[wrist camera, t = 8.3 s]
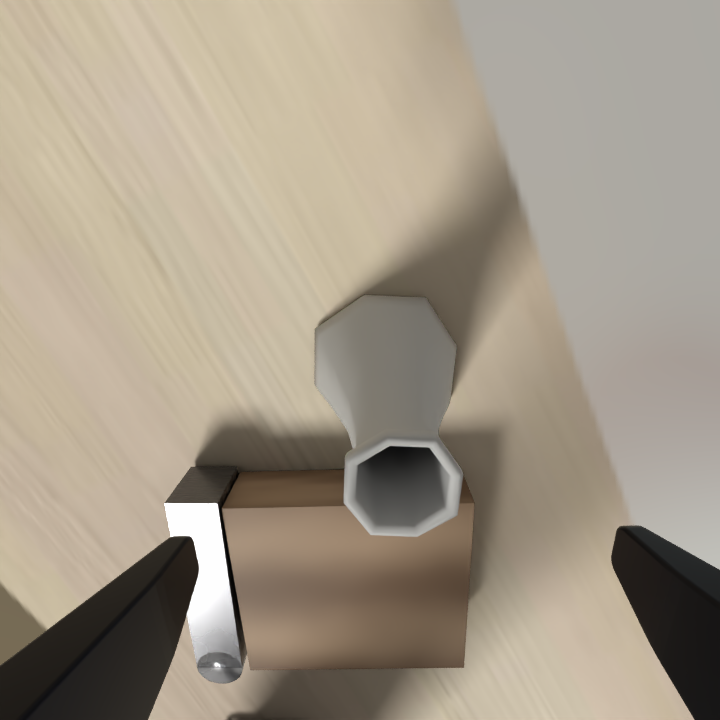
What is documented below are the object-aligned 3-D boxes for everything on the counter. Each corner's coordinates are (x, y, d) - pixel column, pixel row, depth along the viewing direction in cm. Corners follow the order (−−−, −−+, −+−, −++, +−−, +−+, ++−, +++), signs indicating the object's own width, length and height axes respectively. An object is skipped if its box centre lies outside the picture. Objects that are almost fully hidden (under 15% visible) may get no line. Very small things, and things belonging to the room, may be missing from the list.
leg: (258, 632, 25) (244, 683, 22) (219, 632, 25) (200, 683, 22) (237, 466, 21) (217, 503, 19) (190, 466, 21) (164, 503, 19)
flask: (291, 314, 19) (218, 401, 9) (439, 272, 18) (521, 319, 9) (336, 443, 21) (313, 618, 12) (470, 409, 20) (561, 566, 11)
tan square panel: (452, 617, 25) (463, 667, 22) (263, 620, 25) (250, 670, 22) (460, 466, 21) (474, 503, 19) (240, 472, 22) (221, 508, 19)
